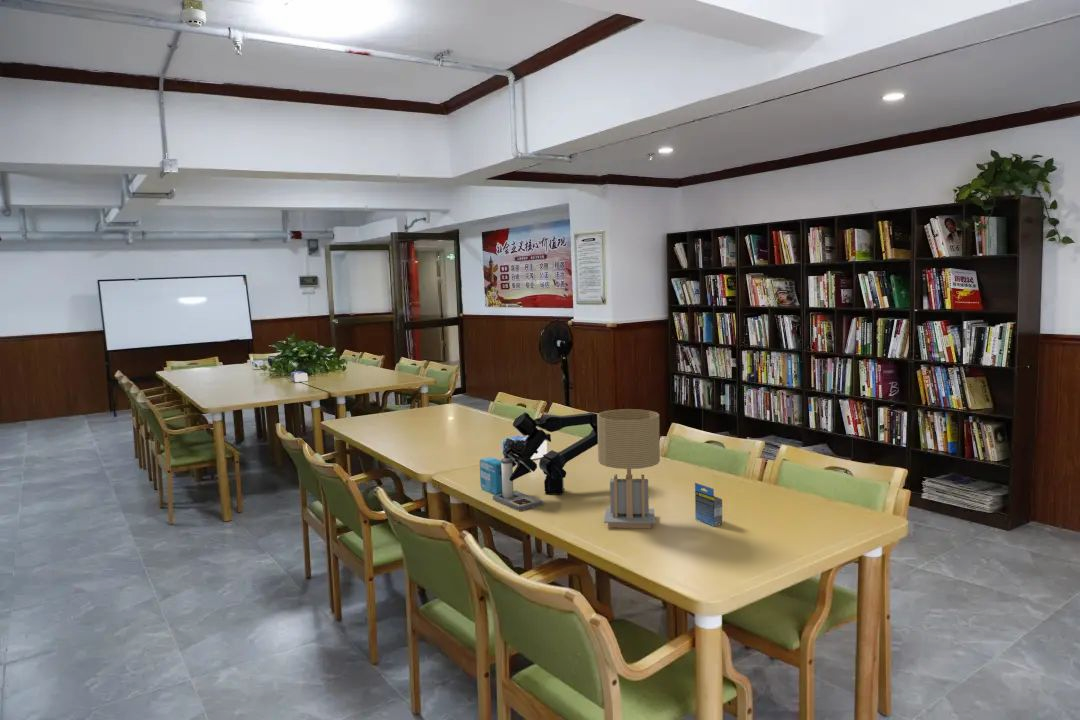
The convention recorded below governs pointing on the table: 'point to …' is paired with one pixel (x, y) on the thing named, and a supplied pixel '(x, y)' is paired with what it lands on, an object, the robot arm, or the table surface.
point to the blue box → (491, 475)
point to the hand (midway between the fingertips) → (505, 477)
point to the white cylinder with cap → (507, 478)
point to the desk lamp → (628, 463)
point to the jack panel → (518, 501)
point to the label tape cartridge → (707, 505)
